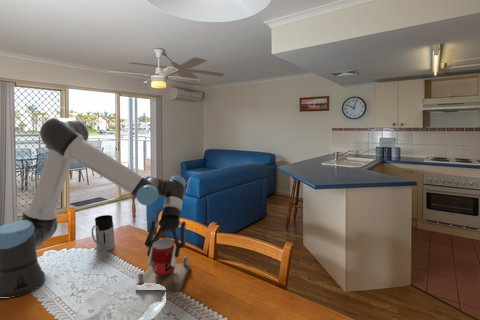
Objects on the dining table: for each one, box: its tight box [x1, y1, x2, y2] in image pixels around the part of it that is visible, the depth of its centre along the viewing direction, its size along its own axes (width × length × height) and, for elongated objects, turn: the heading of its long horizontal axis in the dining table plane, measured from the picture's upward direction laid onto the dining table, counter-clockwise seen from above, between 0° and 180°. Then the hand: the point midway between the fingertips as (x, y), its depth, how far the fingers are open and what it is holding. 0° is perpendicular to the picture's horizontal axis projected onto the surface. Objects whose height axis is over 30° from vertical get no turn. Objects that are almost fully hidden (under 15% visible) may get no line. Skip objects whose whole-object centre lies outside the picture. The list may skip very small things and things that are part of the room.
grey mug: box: [91, 214, 117, 252], centre depth 132 cm, size 9×14×15 cm, turn 176°
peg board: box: [135, 256, 191, 293], centre depth 106 cm, size 16×16×6 cm
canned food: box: [152, 238, 175, 275], centre depth 106 cm, size 8×8×11 cm
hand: (160, 265), depth 103 cm, fingers closed on canned food, 8 cm apart
